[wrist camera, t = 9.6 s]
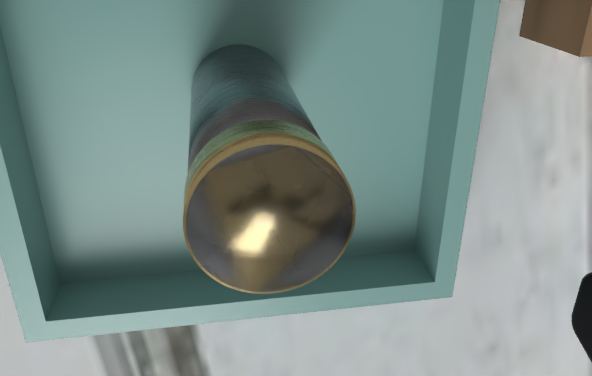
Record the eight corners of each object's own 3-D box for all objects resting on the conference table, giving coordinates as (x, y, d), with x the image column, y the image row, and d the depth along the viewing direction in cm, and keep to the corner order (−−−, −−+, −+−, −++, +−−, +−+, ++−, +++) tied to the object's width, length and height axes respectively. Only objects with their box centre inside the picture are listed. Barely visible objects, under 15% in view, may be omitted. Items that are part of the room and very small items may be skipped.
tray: (476, -170, 17) (530, -188, 14) (423, 254, 24) (451, 296, 21) (-71, -187, 14) (-132, -212, 12) (47, 290, 21) (25, 342, 19)
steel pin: (287, 41, 18) (360, 136, 10) (287, 135, 19) (351, 286, 11) (185, 44, 17) (174, 146, 9) (193, 140, 19) (190, 301, 11)
